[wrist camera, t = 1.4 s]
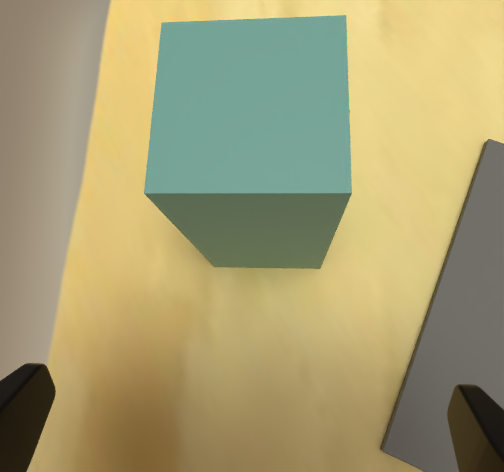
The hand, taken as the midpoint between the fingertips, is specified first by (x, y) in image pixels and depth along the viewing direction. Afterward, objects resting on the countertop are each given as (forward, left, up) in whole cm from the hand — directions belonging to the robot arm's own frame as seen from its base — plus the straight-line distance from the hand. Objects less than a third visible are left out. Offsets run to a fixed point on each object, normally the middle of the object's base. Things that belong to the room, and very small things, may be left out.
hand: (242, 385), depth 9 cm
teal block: (+7, +3, -13) cm, 16 cm away
